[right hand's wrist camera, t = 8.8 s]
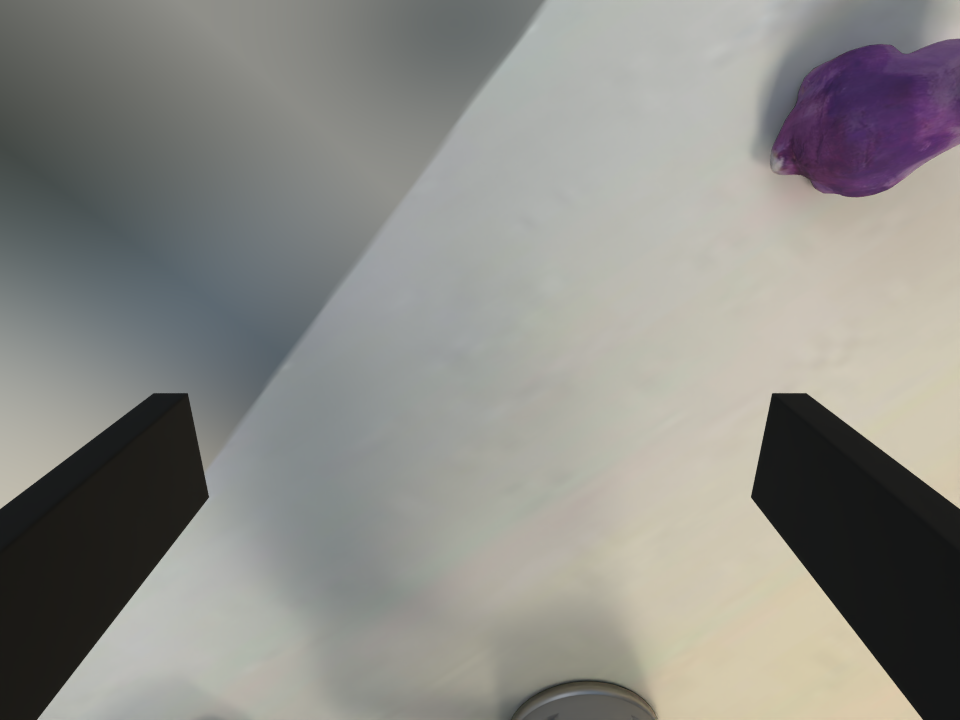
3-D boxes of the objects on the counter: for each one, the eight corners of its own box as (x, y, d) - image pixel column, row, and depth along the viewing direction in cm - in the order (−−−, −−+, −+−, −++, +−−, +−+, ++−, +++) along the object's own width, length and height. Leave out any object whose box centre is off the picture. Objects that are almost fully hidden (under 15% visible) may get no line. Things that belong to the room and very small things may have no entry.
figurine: (963, 45, 34) (1299, -25, 20) (877, 210, 38) (1112, 250, 24) (823, -4, 33) (1074, -112, 19) (749, 171, 37) (914, 188, 23)
